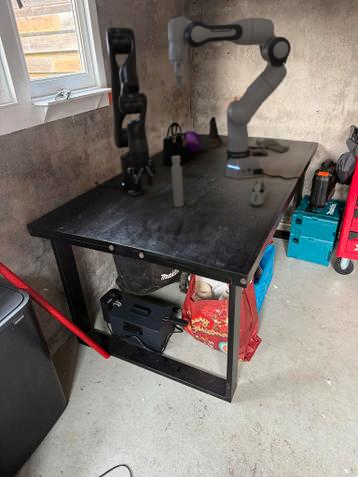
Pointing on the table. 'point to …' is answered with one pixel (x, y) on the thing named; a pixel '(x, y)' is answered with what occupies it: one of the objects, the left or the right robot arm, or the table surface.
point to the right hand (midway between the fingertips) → (179, 86)
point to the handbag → (174, 146)
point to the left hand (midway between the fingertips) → (143, 188)
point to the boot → (214, 134)
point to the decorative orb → (192, 141)
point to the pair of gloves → (267, 144)
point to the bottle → (177, 185)
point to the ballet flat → (258, 193)
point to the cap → (176, 159)
